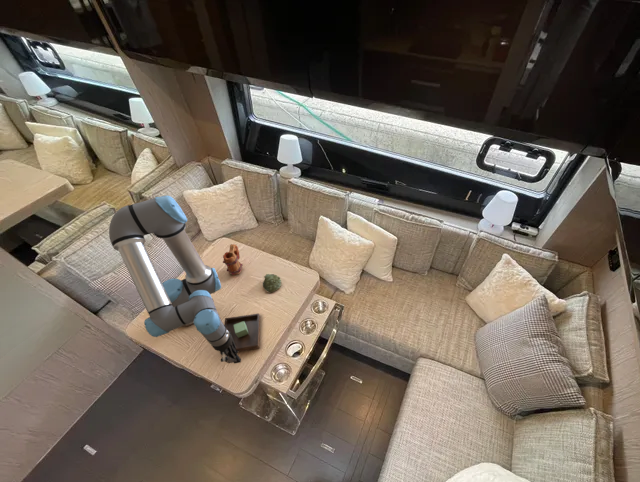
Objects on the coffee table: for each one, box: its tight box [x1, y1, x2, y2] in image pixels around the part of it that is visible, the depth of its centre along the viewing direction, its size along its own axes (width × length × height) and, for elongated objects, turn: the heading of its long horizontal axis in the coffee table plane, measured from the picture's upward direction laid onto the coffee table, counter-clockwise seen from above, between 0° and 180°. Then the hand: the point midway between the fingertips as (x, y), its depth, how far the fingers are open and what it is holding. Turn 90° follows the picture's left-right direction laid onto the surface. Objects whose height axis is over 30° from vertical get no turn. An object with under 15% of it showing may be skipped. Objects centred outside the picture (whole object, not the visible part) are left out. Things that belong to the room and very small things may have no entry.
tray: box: [223, 313, 261, 352], centre depth 136 cm, size 17×18×3 cm
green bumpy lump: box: [262, 273, 282, 294], centre depth 156 cm, size 10×7×10 cm
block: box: [234, 321, 249, 338], centre depth 135 cm, size 5×5×5 cm
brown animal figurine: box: [222, 243, 243, 276], centre depth 159 cm, size 15×8×15 cm, turn 179°
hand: (237, 361), depth 124 cm, fingers closed
